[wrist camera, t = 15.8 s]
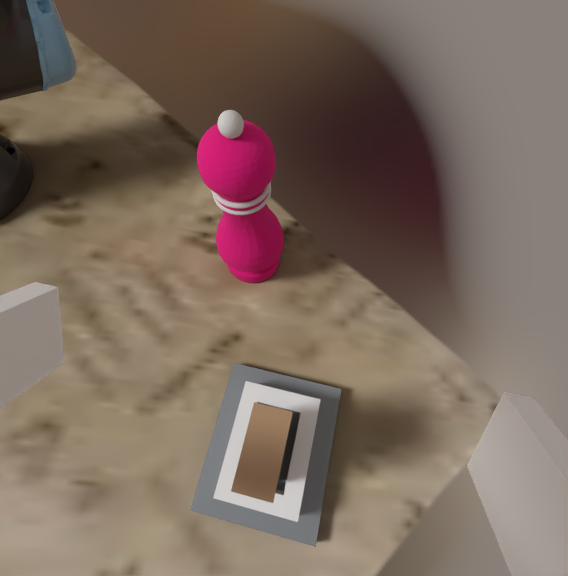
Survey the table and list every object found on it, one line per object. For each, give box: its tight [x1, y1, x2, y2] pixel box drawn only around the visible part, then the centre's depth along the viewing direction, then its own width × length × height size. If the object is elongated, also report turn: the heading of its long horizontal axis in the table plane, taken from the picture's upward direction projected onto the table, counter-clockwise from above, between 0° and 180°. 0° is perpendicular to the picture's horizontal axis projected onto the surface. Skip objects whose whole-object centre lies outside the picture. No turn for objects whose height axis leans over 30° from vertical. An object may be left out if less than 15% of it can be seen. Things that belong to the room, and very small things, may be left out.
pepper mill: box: [197, 110, 284, 283], centre depth 32 cm, size 7×7×20 cm
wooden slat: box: [231, 402, 293, 503], centre depth 26 cm, size 5×2×12 cm, turn 167°
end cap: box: [190, 363, 341, 547], centre depth 31 cm, size 13×11×4 cm
